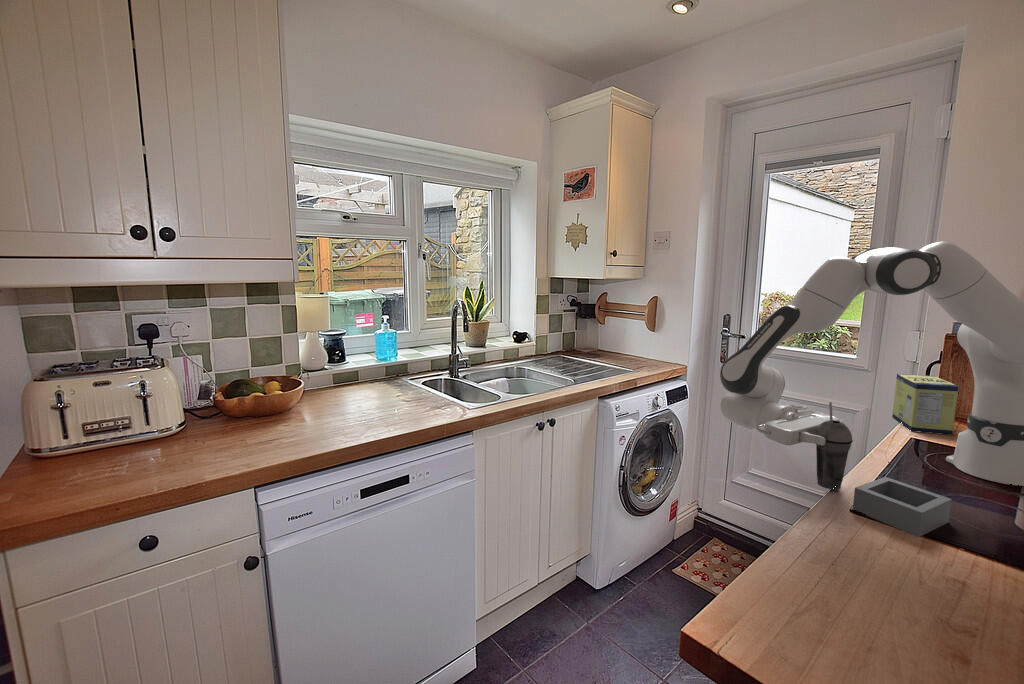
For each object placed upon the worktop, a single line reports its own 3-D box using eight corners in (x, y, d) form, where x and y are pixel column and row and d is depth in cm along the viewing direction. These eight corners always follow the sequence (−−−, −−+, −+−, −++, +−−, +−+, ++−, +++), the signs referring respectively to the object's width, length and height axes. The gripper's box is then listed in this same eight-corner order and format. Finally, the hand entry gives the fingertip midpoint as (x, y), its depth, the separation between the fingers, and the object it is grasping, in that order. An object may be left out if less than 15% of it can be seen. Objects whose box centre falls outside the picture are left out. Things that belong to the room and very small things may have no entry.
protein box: (929, 420, 154) (934, 375, 152) (953, 435, 140) (960, 386, 138) (890, 417, 158) (895, 373, 156) (910, 431, 144) (916, 383, 141)
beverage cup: (854, 493, 103) (863, 407, 100) (818, 491, 104) (825, 406, 102) (838, 479, 110) (846, 398, 107) (805, 477, 112) (811, 397, 109)
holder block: (882, 497, 102) (884, 476, 102) (948, 522, 92) (951, 499, 91) (852, 509, 98) (854, 487, 97) (918, 537, 87) (921, 512, 87)
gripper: (752, 415, 112) (810, 432, 100) (805, 404, 121) (863, 418, 109) (751, 440, 113) (807, 460, 101) (803, 427, 122) (861, 444, 110)
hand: (837, 438), depth 105 cm, fingers closed on beverage cup, 7 cm apart
